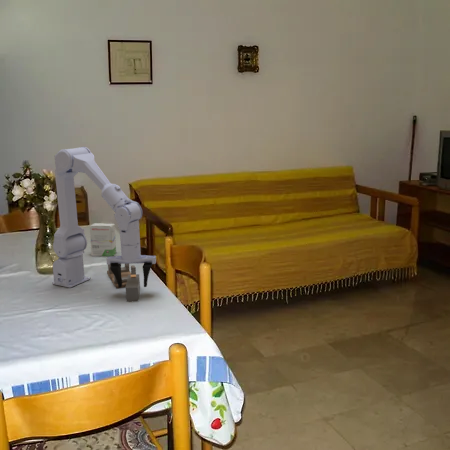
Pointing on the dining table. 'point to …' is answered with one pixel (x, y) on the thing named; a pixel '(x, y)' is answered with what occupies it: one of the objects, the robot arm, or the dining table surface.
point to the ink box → (102, 239)
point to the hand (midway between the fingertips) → (132, 286)
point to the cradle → (122, 274)
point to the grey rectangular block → (132, 288)
